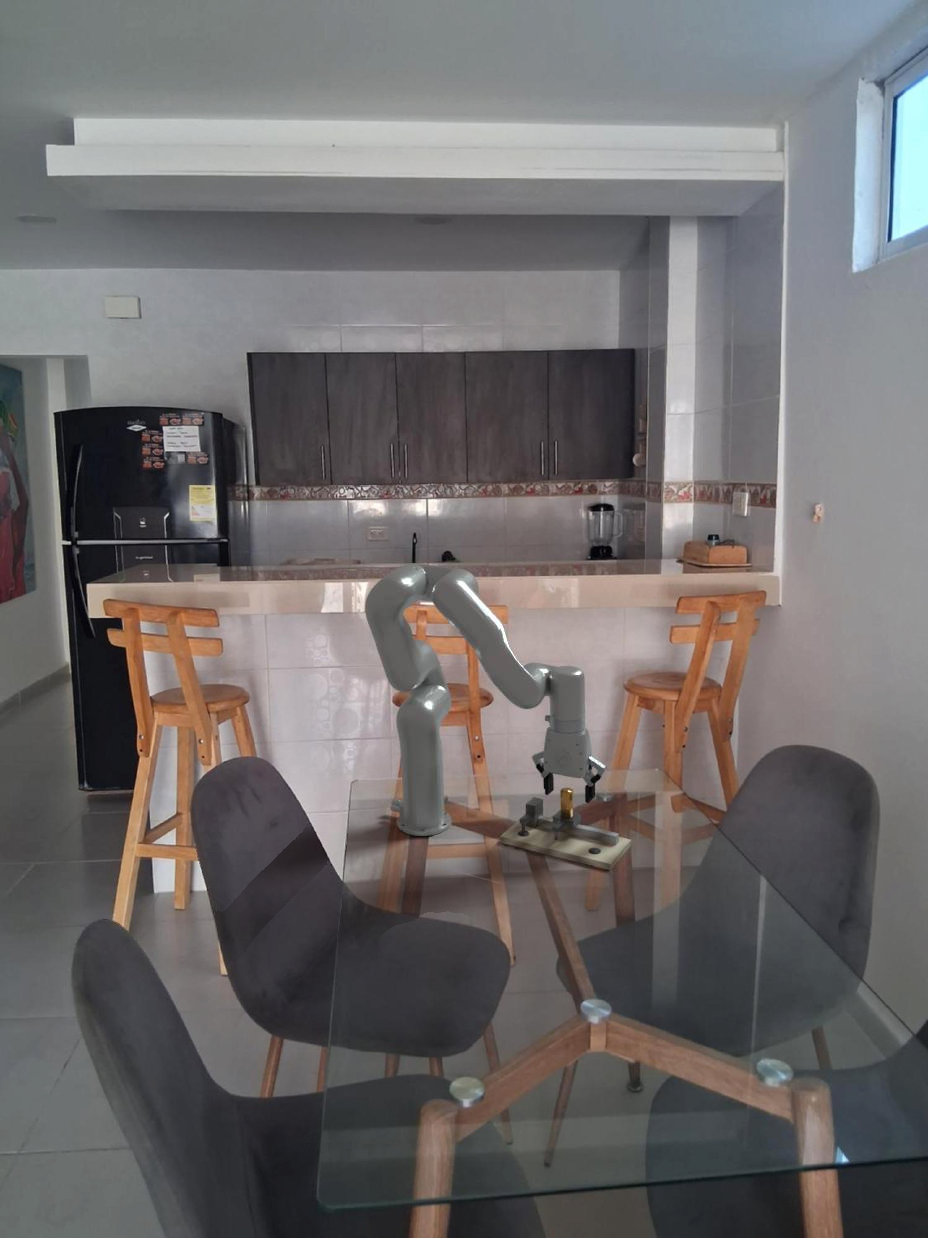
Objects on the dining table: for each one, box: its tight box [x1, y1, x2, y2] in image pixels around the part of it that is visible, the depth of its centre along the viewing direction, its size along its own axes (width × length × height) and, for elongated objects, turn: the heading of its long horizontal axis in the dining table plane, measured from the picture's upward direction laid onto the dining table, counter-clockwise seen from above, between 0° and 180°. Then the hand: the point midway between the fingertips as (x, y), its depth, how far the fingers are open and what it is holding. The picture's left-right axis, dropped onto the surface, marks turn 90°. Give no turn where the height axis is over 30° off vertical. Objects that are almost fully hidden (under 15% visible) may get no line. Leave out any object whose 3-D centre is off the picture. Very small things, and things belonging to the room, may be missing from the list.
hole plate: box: [499, 796, 632, 871], centre depth 208 cm, size 26×12×7 cm, turn 60°
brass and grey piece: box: [552, 787, 582, 840], centre depth 208 cm, size 5×8×9 cm, turn 150°
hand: (569, 796), depth 209 cm, fingers open, 9 cm apart
